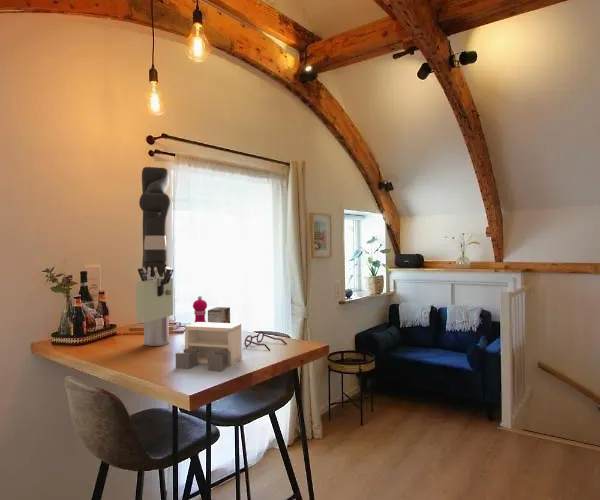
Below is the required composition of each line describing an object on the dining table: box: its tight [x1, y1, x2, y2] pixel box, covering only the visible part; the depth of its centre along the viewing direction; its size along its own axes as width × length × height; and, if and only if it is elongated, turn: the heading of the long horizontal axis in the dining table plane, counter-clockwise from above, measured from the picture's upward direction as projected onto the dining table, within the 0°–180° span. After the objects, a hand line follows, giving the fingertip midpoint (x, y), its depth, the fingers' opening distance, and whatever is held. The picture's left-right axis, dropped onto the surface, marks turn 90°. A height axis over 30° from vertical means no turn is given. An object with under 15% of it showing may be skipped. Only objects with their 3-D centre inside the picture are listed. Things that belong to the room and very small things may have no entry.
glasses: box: [244, 331, 288, 352], centre depth 179 cm, size 13×13×5 cm
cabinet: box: [175, 321, 243, 372], centre depth 152 cm, size 18×16×13 cm
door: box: [135, 277, 174, 324], centre depth 155 cm, size 18×5×14 cm, turn 165°
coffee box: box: [207, 306, 231, 323], centre depth 176 cm, size 9×6×16 cm
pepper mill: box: [192, 295, 208, 323], centre depth 187 cm, size 7×7×20 cm
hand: (155, 295), depth 155 cm, fingers closed on door, 3 cm apart
